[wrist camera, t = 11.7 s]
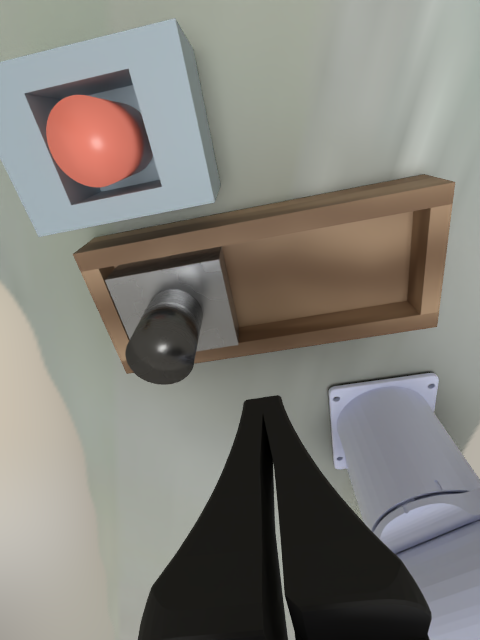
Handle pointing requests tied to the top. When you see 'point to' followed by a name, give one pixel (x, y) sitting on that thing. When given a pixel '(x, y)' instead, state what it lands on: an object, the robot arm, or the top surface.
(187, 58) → the button housing
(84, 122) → the button
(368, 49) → the top surface
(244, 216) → the rail
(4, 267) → the top surface
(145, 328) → the carriage
